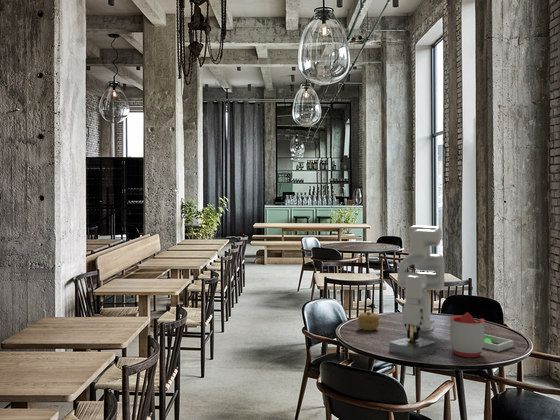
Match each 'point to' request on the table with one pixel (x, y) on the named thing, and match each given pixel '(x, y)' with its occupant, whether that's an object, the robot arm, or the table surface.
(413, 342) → the brass pin
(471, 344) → the citrus juicer
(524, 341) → the table surface
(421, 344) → the base block
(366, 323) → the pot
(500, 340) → the frame
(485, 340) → the mechanical part
